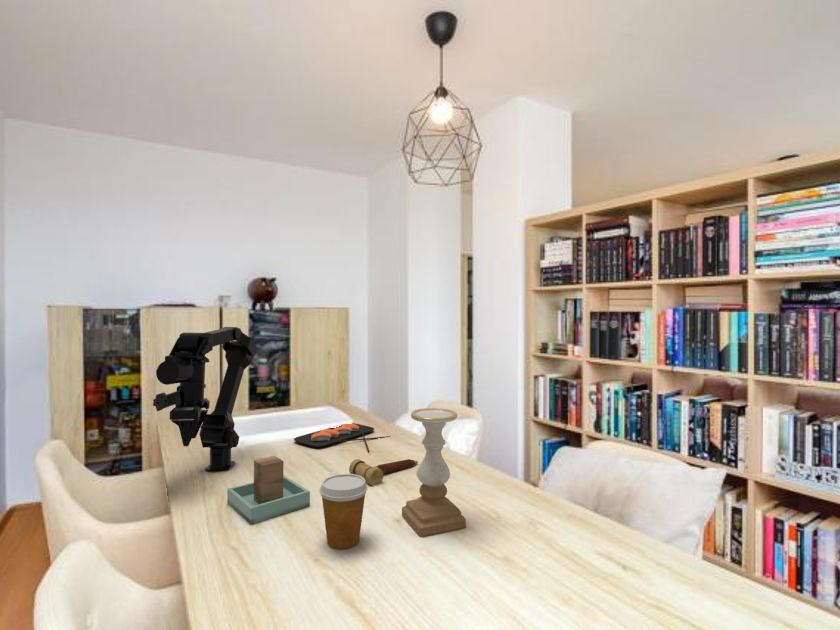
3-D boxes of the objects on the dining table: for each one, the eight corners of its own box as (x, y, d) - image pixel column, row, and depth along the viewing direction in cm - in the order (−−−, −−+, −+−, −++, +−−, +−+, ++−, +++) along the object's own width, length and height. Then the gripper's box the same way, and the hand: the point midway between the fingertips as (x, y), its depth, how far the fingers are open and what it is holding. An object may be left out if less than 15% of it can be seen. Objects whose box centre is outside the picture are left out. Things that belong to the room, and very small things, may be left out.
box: (227, 503, 108) (227, 488, 108) (283, 488, 117) (283, 474, 117) (250, 524, 97) (250, 508, 97) (309, 506, 107) (309, 491, 106)
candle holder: (400, 515, 103) (401, 409, 102) (444, 507, 107) (445, 405, 107) (419, 537, 93) (421, 420, 92) (467, 527, 97) (468, 416, 96)
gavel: (407, 450, 140) (429, 458, 132) (406, 465, 140) (428, 474, 132) (349, 460, 126) (370, 470, 118) (348, 476, 126) (369, 487, 118)
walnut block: (253, 500, 107) (253, 460, 107) (273, 494, 111) (274, 455, 110) (262, 507, 103) (262, 465, 103) (283, 501, 107) (283, 460, 107)
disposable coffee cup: (375, 534, 94) (375, 476, 94) (353, 558, 85) (354, 494, 85) (334, 526, 97) (334, 470, 97) (309, 548, 88) (309, 487, 88)
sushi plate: (349, 427, 180) (350, 417, 180) (410, 440, 162) (410, 429, 162) (289, 444, 156) (289, 433, 156) (352, 462, 138) (353, 450, 138)
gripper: (166, 378, 124) (163, 435, 123) (146, 385, 106) (143, 452, 105) (211, 377, 127) (208, 434, 126) (199, 384, 109) (196, 450, 109)
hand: (189, 442), depth 117 cm, fingers open, 9 cm apart
